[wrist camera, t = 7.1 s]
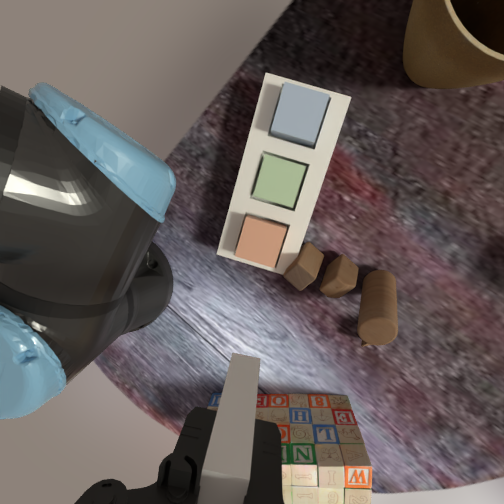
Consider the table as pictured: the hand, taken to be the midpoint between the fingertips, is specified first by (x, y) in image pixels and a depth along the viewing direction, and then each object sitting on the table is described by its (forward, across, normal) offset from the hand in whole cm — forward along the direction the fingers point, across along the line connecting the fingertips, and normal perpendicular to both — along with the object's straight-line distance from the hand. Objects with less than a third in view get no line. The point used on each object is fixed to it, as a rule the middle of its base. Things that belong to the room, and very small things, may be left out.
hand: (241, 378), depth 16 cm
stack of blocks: (+27, +7, -24) cm, 37 cm away
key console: (+27, 0, +11) cm, 29 cm away
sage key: (+26, 0, +11) cm, 28 cm away
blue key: (+24, +1, +18) cm, 30 cm away
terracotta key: (+24, -1, +3) cm, 24 cm away
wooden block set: (+27, +13, -1) cm, 30 cm away
